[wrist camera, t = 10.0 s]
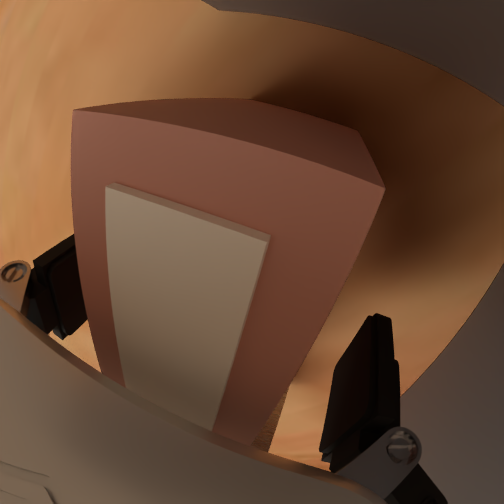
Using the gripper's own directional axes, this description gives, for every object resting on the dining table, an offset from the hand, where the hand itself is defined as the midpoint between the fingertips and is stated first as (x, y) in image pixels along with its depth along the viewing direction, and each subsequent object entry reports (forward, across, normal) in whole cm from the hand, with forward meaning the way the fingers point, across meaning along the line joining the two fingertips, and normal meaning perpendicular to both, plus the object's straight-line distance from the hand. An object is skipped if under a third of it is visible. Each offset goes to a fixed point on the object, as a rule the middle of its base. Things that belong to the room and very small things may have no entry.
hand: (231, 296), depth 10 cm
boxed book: (+4, 0, 0) cm, 4 cm away
